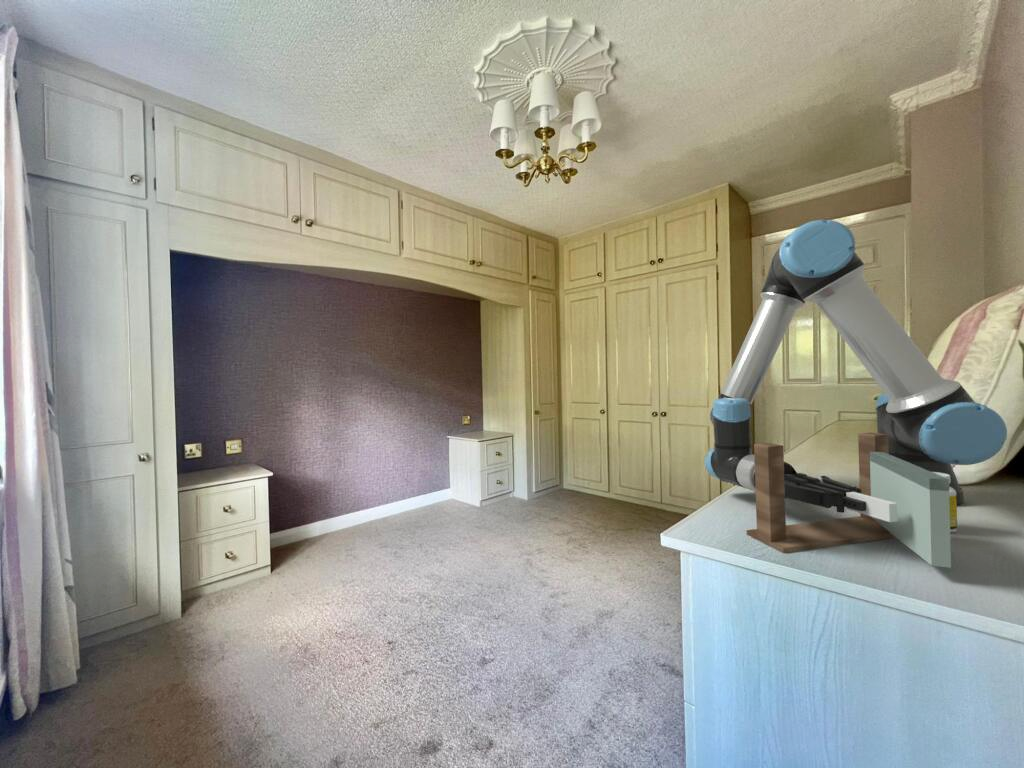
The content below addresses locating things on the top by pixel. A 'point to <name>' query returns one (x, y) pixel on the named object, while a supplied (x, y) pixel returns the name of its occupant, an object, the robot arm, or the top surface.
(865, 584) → the top surface
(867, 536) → the gate frame
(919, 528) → the gate
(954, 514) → the supplement bottle
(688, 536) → the top surface
